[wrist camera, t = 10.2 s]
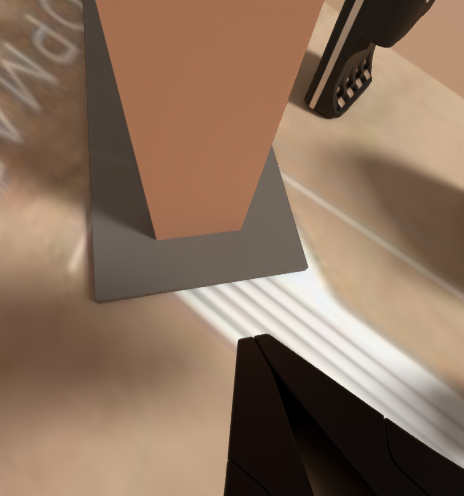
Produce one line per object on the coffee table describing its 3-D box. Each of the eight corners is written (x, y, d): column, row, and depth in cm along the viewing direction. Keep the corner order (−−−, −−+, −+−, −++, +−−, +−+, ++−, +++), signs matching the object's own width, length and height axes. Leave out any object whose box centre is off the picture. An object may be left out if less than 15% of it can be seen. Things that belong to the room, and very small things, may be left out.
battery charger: (339, 133, 23) (462, -62, 13) (299, 106, 24) (385, -103, 13) (379, 87, 26) (509, -107, 15) (342, 63, 26) (443, -140, 16)
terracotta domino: (240, 230, 18) (334, -29, 6) (156, 240, 18) (85, -40, 6) (234, 201, 19) (308, -80, 7) (153, 210, 18) (82, -98, 6)
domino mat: (304, 270, 19) (308, 267, 18) (98, 303, 16) (95, 301, 16) (217, -28, 29) (218, -35, 28) (83, -33, 27) (81, -41, 26)
